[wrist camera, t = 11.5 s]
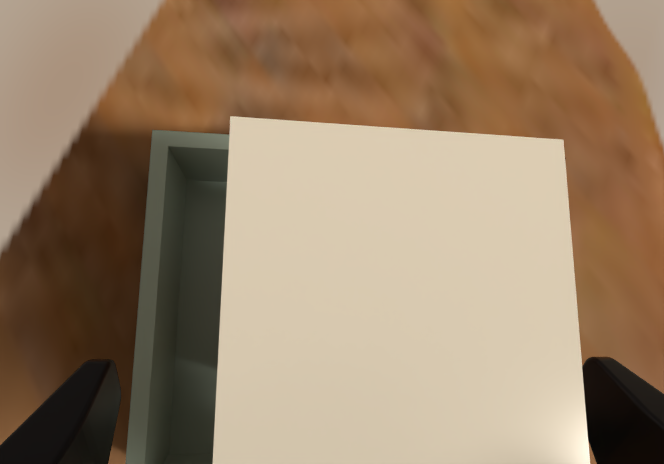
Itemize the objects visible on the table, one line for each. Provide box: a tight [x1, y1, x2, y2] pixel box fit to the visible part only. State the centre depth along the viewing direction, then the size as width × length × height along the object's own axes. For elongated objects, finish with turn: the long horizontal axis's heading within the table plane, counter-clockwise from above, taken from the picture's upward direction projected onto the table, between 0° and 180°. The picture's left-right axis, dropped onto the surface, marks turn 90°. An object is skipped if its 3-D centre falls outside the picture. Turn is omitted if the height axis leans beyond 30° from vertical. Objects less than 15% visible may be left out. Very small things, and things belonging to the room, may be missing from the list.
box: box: [126, 130, 230, 464], centre depth 16 cm, size 11×11×4 cm
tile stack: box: [213, 116, 590, 464], centre depth 12 cm, size 5×5×12 cm
